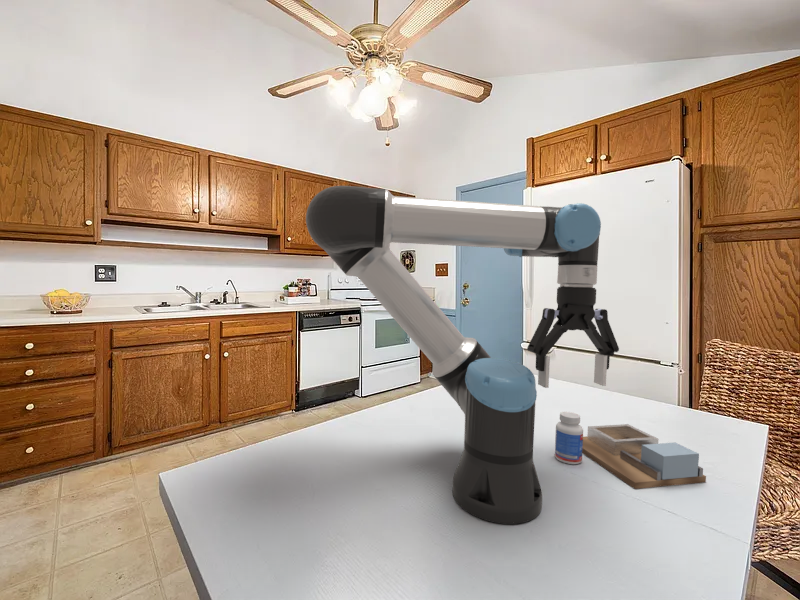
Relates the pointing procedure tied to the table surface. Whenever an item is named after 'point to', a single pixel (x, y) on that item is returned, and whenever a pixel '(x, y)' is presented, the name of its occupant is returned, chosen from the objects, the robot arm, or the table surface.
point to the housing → (671, 460)
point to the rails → (646, 466)
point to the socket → (620, 438)
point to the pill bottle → (569, 438)
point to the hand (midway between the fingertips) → (571, 385)
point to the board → (630, 468)
